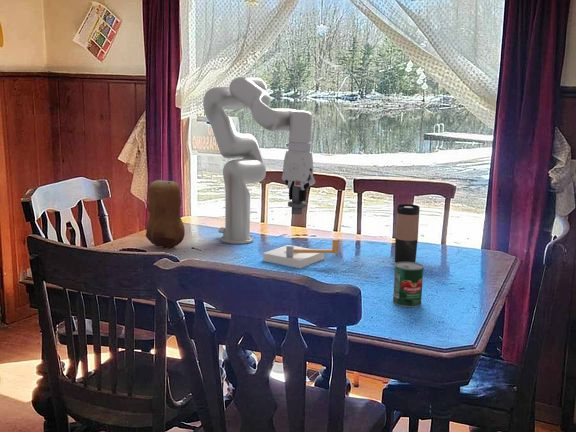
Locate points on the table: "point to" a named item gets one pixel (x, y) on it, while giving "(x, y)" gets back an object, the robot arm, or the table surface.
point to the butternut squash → (164, 214)
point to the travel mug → (406, 233)
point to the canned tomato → (408, 284)
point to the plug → (296, 201)
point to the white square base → (296, 261)
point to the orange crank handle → (291, 250)
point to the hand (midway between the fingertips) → (297, 199)
